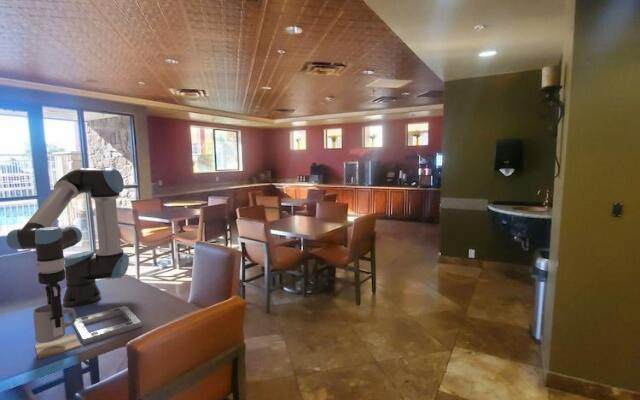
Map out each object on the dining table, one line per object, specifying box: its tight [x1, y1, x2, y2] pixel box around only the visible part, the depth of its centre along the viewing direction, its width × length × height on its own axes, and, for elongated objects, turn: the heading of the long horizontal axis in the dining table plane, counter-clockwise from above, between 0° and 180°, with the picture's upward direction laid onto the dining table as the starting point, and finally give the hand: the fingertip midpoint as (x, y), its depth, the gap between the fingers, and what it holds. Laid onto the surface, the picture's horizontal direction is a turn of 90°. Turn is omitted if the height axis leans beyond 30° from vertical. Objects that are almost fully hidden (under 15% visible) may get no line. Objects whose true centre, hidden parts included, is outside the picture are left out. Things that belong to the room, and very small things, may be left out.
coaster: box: [34, 332, 82, 360], centre depth 124 cm, size 12×12×1 cm
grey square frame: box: [72, 305, 143, 345], centre depth 140 cm, size 22×20×2 cm
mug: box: [33, 303, 77, 344], centre depth 123 cm, size 12×8×11 cm
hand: (56, 330), depth 123 cm, fingers closed on mug, 8 cm apart
